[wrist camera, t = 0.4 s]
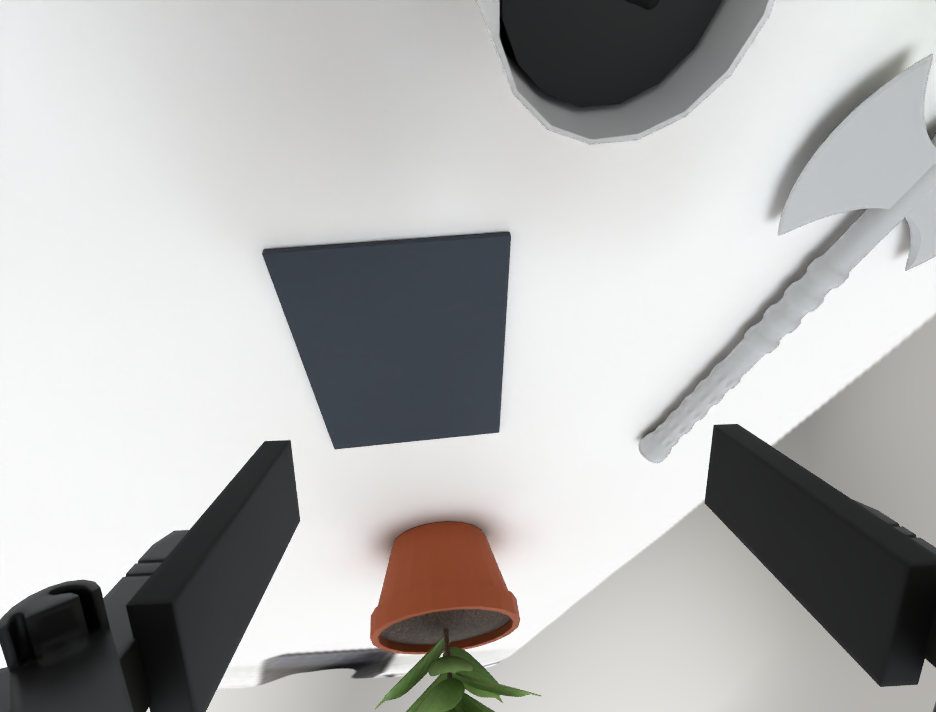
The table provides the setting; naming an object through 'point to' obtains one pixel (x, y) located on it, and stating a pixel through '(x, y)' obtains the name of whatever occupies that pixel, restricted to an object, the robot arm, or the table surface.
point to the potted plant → (444, 614)
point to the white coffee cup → (619, 59)
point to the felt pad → (399, 334)
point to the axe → (835, 191)
